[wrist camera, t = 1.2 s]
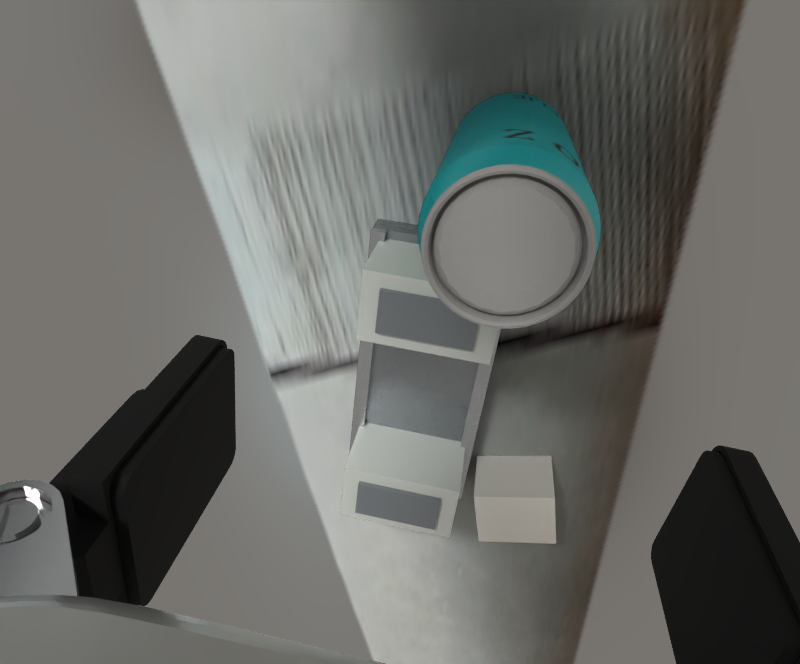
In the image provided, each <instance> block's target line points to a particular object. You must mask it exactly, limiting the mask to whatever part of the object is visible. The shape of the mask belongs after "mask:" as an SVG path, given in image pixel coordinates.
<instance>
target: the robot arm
mask: <svg viewBox="0 0 800 664" xmlns="http://www.w3.org/2000/svg"><path fill="white" fill-rule="evenodd" d="M235 436H236V432H235V367H234V352H233V350H231V349H227V345H226V342H225V341H223V340H219V339H214V338H210V337H205V336H200V335H195V336H194V337H193V338H192V339H191V340H190V341H189V342H188V343H187V344H186V345H185V346H184V347H183V348H182V350H181V351H180V352H179V353H178V354H177V355H176V356H175V357H174V358H173V359H172V360H171V362H170V363H169V364H168V365H167V366H166V367H165V368H164V369H163V370H162V371H161V372H160V373H159V375H158V376H157V377H156V378H155V379H154V380H153V381H152V382H151V383H150V384H149V386H148V387H147V388H146V389H145V390H144V389H142V390H138V391H136V392H135V393H134V394H133V395H132V396H131V397H130V398H129V399H128V400H127V401H126V402H125V403H124V404H123V405H122V406H121V407H120V408H119V409H118V410H117V412H116V413H115V414H114V415H113V416H112V417H111V418H110V419H109V420H108V421H107V422H106V423H105V424H104V425H103V426H102V427H101V429H100V430H99V431H98V432H97V433H96V434H95V435H94V436H93V437H92V438H91V439H90V440H89V441H88V442H87V443H86V444H85V446H84V447H83V448H82V449H81V450H80V451H79V452H78V453H77V454H76V455H75V456H74V457H73V458H72V459H71V461H70V462H69V463H68V464H67V465H66V466H65V467H64V468H63V469H62V470H61V471H60V472H59V473H58V474H57V475H56V477H54V479H53V480H52V481H51V482H50V483H46V482H42V481H38V480H20V481H15V482H8V483H5V484H2V485H0V664H384V663H380V662H376V661H372V660H368V659H364V658H360V657H356V656H351V655H347V654H344V653H339V652H335V651H331V650H327V649H323V648H319V647H314V646H310V645H306V644H302V643H298V642H294V641H289V640H286V639H282V638H277V637H273V636H269V635H265V634H261V633H256V632H253V631H248V630H244V629H240V628H236V627H232V626H228V625H223V624H219V623H215V622H210V621H206V620H201V619H197V618H192V617H188V616H184V615H179V614H175V613H170V612H166V611H161V610H157V609H152V608H148V607H143V606H145V605H147V604H148V603H149V602H150V600H151V599H152V597H153V596H154V594H155V592H156V591H157V589H158V587H159V585H160V584H161V582H162V581H163V579H164V577H165V575H166V574H167V572H168V570H169V569H170V567H171V565H172V563H173V562H174V560H175V558H176V557H177V555H178V554H179V552H180V550H181V548H182V547H183V545H184V543H185V542H186V540H187V538H188V537H189V535H190V533H191V531H192V530H193V528H194V527H195V525H196V523H197V522H198V520H199V518H200V516H201V515H202V513H203V511H204V510H205V508H206V506H207V505H208V503H209V501H210V500H211V498H212V496H213V495H214V493H215V491H216V489H217V488H218V486H219V484H220V483H221V481H222V479H223V478H224V476H225V474H226V473H227V471H228V469H229V467H230V466H231V464H232V461H233V459H234V455H235V450H236V437H235ZM651 559H652V565H653V569H654V573H655V577H656V581H657V586H658V589H659V594H660V598H661V602H662V606H663V610H664V614H665V619H666V623H667V627H668V631H669V635H670V640H671V644H672V648H673V652H674V656H675V660H676V664H800V542H799V540H798V538H797V536H796V534H795V532H794V531H793V529H792V527H791V525H790V523H789V521H788V519H787V517H786V515H785V513H784V511H783V509H782V507H781V505H780V503H779V501H778V499H777V498H776V496H775V494H774V492H773V490H772V488H771V486H770V484H769V482H768V480H767V478H766V476H765V475H764V472H763V471H762V468H761V467H760V465H759V463H758V461H757V459H756V457H755V456H754V455H753V453H751V452H749V451H744V450H739V449H735V448H730V447H725V446H716V447H715V448H714V449H713V450H712V451H705V452H703V454H702V455H701V457H700V458H699V460H698V462H697V464H696V466H695V468H694V469H693V471H692V473H691V475H690V476H689V478H688V480H687V482H686V484H685V486H684V487H683V489H682V491H681V493H680V495H679V496H678V498H677V500H676V502H675V504H674V506H673V507H672V509H671V511H670V513H669V515H668V517H667V519H666V520H665V522H664V524H663V526H662V527H661V529H660V531H659V533H658V535H657V536H656V539H655V540H654V543H653V545H652V551H651ZM139 605H141V606H139Z"/></svg>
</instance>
